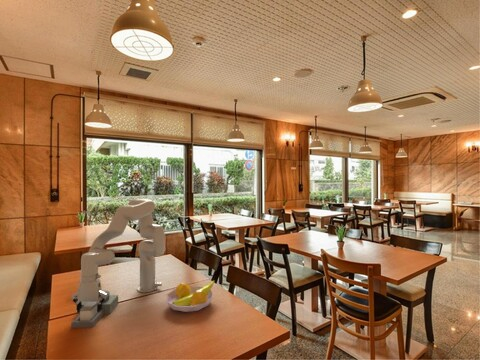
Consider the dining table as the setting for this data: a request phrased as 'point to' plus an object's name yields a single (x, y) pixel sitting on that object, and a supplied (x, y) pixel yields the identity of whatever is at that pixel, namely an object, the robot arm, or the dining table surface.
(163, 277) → the dining table surface
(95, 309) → the grey bevelled box
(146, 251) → the robot arm
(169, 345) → the dining table surface
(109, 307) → the domed grey panel
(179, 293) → the fruit bowl
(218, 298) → the dining table surface
